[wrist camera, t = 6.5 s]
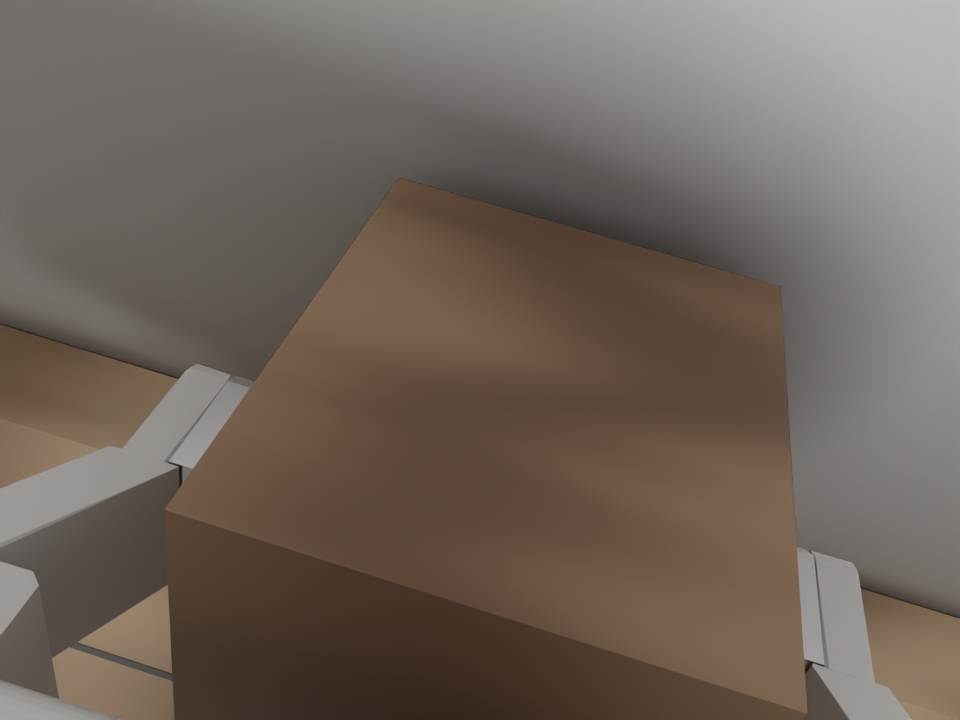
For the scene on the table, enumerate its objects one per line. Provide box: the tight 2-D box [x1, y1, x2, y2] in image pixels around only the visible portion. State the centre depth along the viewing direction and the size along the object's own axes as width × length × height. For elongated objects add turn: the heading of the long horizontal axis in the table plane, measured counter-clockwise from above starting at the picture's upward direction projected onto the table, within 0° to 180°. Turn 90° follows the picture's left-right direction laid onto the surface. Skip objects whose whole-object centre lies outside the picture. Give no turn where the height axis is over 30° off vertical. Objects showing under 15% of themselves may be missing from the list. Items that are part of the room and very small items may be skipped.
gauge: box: [164, 178, 808, 720], centre depth 13 cm, size 5×12×6 cm, turn 169°
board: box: [0, 325, 960, 720], centre depth 18 cm, size 24×9×2 cm, turn 79°
